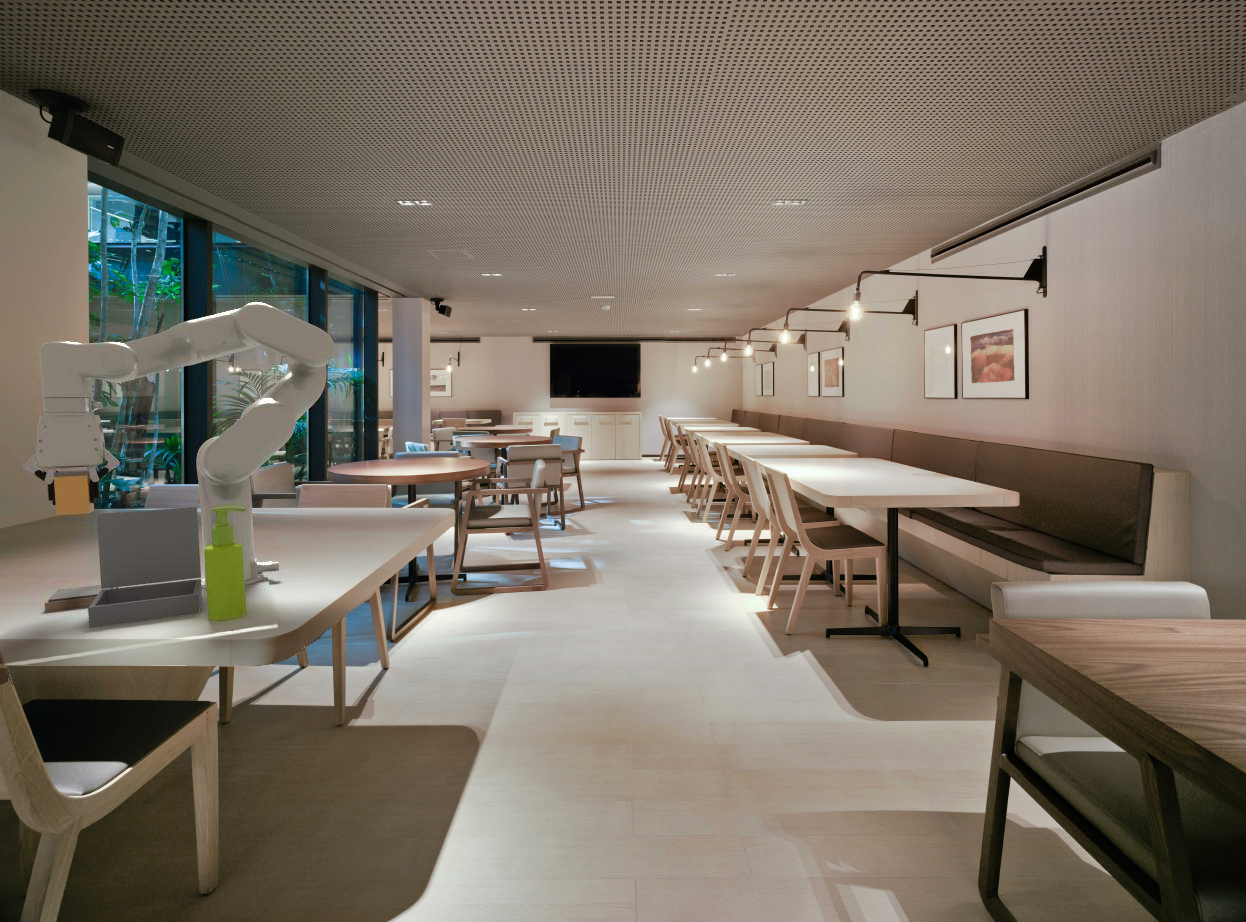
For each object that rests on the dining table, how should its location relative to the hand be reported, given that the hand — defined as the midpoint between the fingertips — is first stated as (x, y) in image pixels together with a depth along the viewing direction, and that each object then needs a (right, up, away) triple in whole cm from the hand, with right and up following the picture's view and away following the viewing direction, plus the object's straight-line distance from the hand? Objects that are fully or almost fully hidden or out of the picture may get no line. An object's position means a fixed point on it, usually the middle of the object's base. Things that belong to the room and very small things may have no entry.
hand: (75, 502), depth 136 cm
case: (+18, -20, -6) cm, 28 cm away
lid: (+14, -9, 0) cm, 17 cm away
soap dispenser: (+35, -20, -10) cm, 42 cm away
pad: (0, -20, +2) cm, 20 cm away
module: (0, -2, 0) cm, 2 cm away
